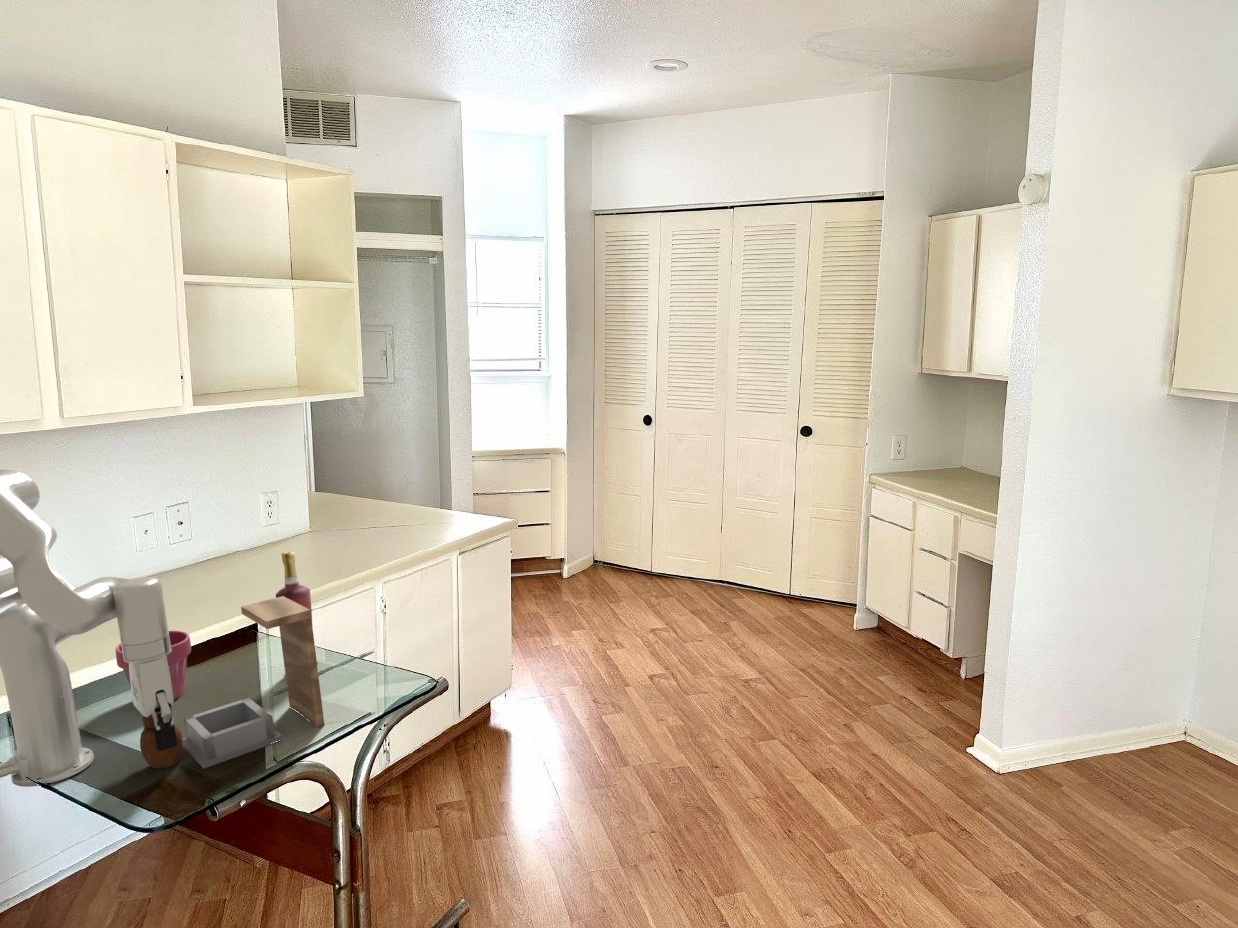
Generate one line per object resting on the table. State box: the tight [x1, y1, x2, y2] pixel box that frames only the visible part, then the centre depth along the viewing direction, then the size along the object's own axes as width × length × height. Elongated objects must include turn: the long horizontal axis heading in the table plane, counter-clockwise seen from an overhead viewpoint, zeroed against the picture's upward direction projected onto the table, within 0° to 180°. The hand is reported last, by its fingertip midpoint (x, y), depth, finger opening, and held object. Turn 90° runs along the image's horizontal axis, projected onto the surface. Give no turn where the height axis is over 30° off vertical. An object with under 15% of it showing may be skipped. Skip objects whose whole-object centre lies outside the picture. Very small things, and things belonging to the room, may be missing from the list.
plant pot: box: [115, 630, 192, 700], centre depth 185 cm, size 14×14×13 cm
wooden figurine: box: [139, 708, 184, 769], centre depth 153 cm, size 7×6×15 cm
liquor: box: [275, 551, 319, 666], centre depth 193 cm, size 7×7×28 cm
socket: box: [182, 697, 283, 769], centre depth 161 cm, size 14×14×5 cm
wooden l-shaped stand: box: [240, 596, 325, 729], centre depth 167 cm, size 8×14×24 cm, turn 42°
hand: (161, 740), depth 154 cm, fingers closed on wooden figurine, 7 cm apart
